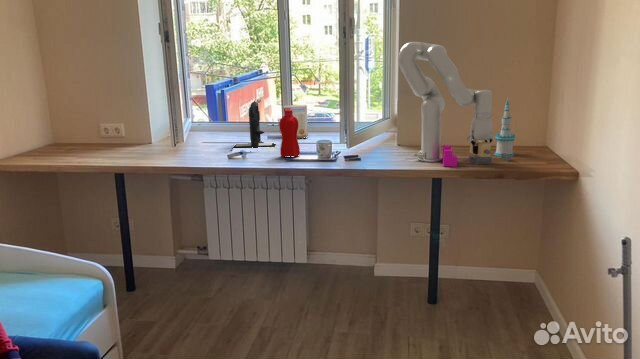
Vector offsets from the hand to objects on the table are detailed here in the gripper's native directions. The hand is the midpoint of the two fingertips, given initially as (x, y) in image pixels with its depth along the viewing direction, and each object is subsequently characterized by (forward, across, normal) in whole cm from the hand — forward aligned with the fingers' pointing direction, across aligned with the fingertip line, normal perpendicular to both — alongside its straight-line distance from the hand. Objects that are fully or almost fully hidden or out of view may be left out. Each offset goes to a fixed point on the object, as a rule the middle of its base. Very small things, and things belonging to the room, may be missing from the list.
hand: (480, 152), depth 262 cm
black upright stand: (+6, +96, -87) cm, 130 cm away
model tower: (+5, -22, -11) cm, 25 cm away
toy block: (+5, +14, -4) cm, 16 cm away
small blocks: (+5, -6, 0) cm, 7 cm away
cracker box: (+5, +66, -104) cm, 123 cm away
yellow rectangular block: (+1, 0, 0) cm, 1 cm away
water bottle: (+5, +83, -53) cm, 99 cm away
